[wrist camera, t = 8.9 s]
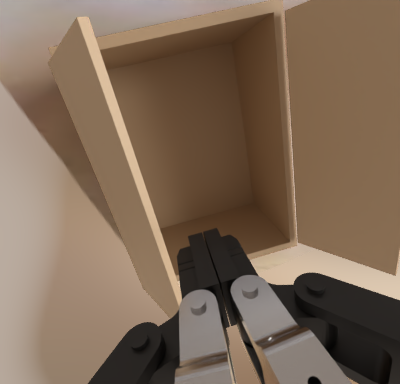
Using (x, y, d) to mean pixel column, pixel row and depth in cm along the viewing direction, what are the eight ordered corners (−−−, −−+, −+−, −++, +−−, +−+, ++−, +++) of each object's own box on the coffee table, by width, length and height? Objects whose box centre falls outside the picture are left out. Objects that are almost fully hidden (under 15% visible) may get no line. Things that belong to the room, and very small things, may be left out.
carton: (89, 67, 28) (46, 48, 17) (235, 34, 29) (282, -3, 18) (149, 233, 38) (147, 290, 27) (257, 203, 39) (296, 245, 28)
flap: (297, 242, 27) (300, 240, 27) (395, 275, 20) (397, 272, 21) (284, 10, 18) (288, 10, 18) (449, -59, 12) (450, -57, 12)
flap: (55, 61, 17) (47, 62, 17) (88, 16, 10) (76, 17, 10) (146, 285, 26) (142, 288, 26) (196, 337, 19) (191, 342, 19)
